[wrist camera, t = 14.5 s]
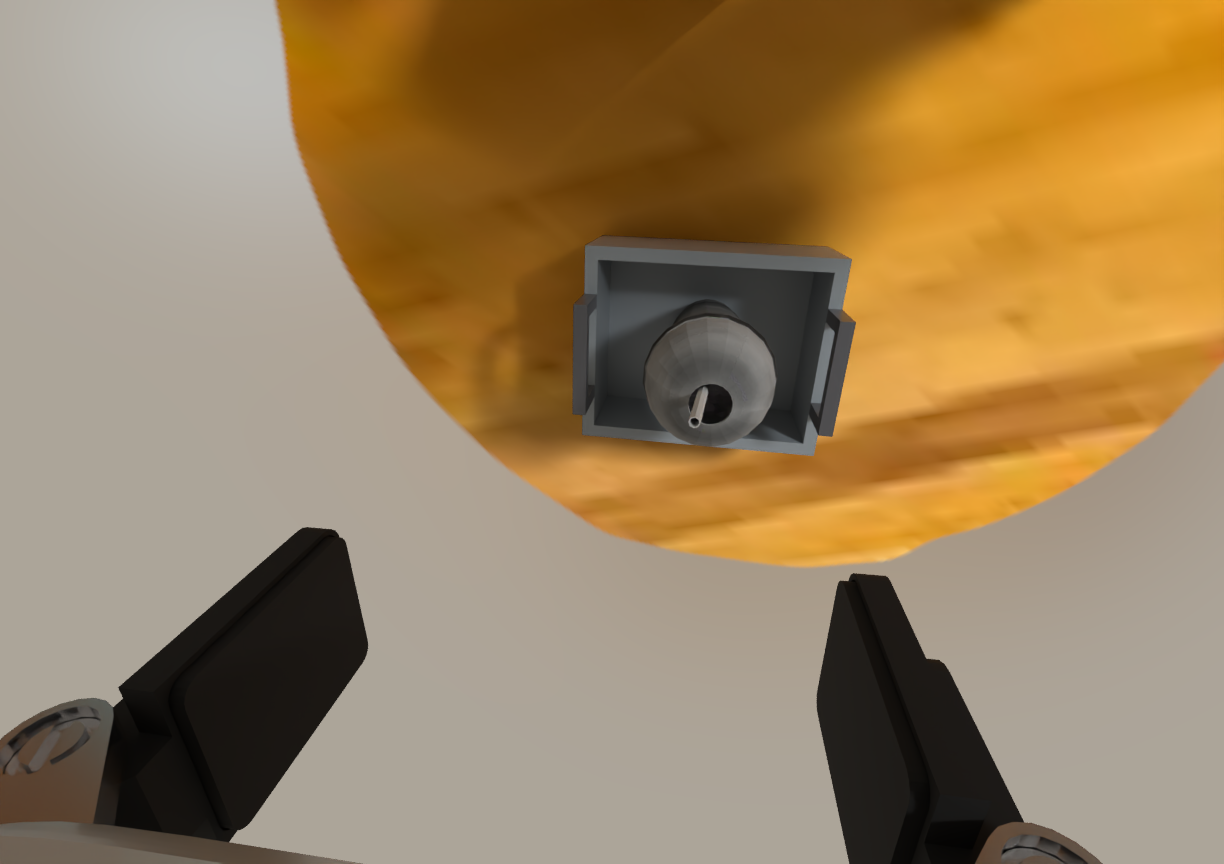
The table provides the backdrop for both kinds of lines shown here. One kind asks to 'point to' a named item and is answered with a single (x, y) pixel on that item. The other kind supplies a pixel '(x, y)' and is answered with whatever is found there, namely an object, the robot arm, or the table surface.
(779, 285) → the tote
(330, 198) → the table surface
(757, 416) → the beverage cup
